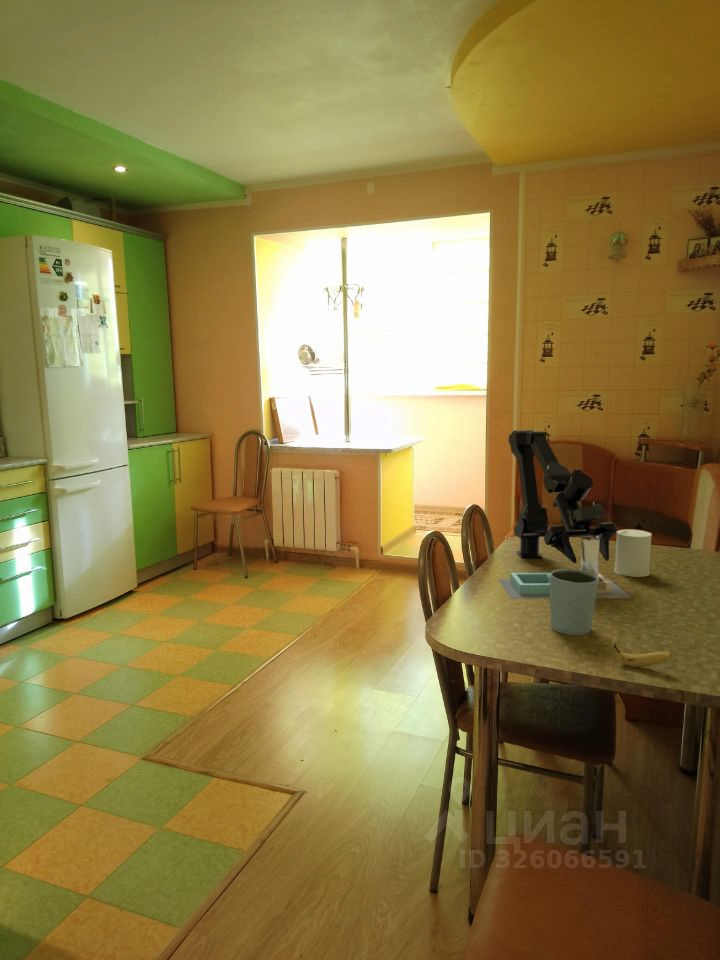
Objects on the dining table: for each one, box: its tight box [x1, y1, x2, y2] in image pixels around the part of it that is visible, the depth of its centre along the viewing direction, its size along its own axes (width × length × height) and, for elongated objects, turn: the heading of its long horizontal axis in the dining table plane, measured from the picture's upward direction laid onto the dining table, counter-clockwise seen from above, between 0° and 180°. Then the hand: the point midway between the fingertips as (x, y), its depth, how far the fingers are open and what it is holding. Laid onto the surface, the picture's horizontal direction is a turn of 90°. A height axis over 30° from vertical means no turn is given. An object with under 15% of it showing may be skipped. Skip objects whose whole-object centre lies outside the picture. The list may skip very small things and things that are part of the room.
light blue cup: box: [549, 568, 599, 636], centre depth 145 cm, size 10×10×12 cm
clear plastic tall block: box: [579, 536, 600, 577], centre depth 172 cm, size 4×4×13 cm
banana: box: [613, 642, 672, 668], centre depth 125 cm, size 10×2×4 cm, turn 63°
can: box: [614, 528, 653, 578], centre depth 185 cm, size 9×9×12 cm
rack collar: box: [509, 572, 551, 595], centre depth 172 cm, size 10×10×2 cm
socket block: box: [597, 572, 611, 593], centre depth 172 cm, size 8×8×2 cm
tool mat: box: [497, 577, 632, 600], centre depth 172 cm, size 16×30×1 cm, turn 90°
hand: (591, 561), depth 171 cm, fingers open, 9 cm apart
